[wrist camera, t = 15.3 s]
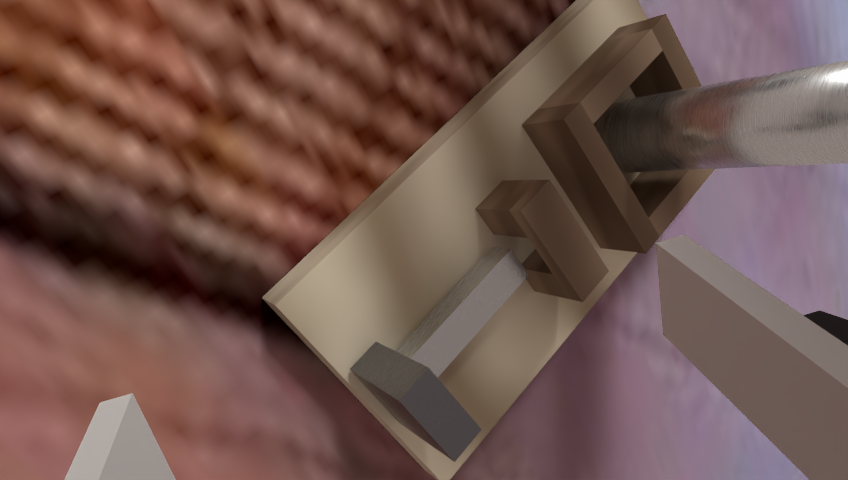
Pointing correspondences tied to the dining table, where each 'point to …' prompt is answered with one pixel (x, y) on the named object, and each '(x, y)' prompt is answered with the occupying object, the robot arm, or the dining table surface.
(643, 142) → the silver cylinder
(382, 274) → the dock
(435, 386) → the lock pin
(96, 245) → the dining table surface
